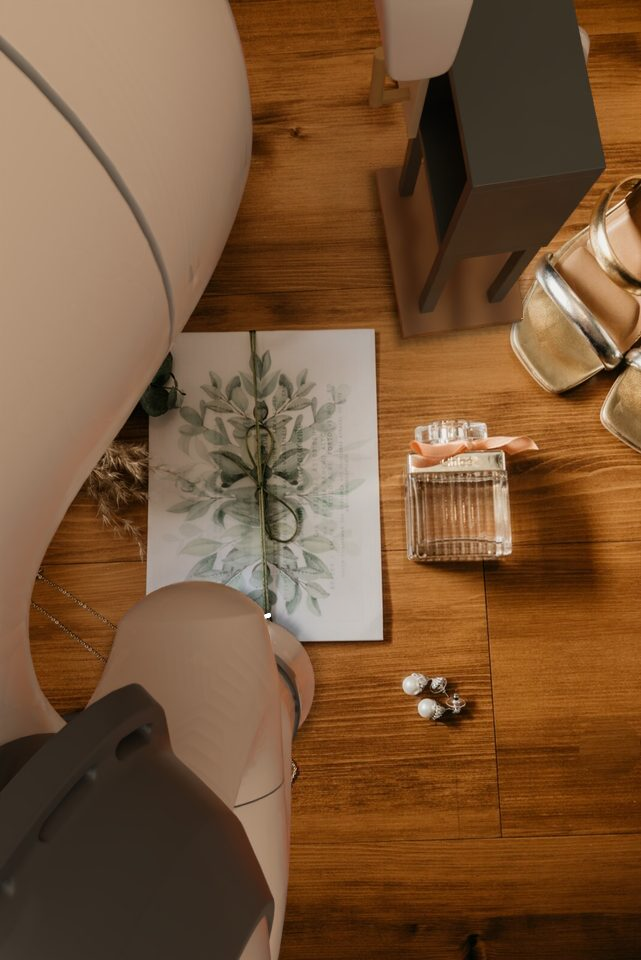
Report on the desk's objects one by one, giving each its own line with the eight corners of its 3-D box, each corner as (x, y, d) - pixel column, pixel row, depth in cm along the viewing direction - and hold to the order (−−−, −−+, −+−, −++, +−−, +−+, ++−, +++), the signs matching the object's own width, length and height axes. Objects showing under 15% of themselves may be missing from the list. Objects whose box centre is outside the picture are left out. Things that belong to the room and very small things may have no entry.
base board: (402, 339, 83) (403, 335, 82) (375, 176, 85) (376, 169, 84) (521, 321, 83) (525, 317, 82) (491, 159, 85) (494, 152, 84)
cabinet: (418, 316, 82) (472, 187, 53) (395, 183, 83) (436, -15, 54) (504, 303, 82) (607, 167, 53) (480, 171, 83) (567, -33, 54)
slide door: (369, 144, 67) (381, 48, 54) (346, 6, 68) (352, -120, 55) (416, 138, 67) (438, 40, 54) (392, -1, 68) (408, -128, 55)
